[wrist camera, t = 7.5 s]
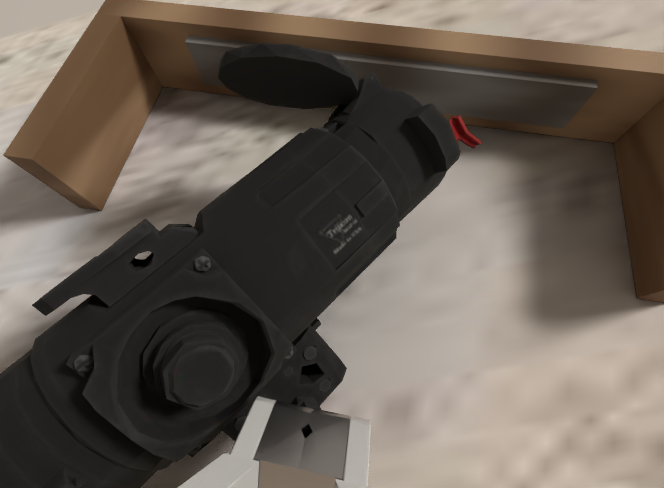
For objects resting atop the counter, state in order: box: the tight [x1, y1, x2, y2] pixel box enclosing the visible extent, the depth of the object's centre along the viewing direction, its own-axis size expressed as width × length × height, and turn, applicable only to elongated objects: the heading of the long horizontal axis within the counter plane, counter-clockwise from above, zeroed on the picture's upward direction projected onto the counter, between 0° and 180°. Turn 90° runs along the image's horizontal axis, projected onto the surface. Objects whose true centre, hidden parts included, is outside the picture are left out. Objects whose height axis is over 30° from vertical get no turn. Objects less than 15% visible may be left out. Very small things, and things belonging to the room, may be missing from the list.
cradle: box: [4, 0, 664, 303], centre depth 15 cm, size 26×9×4 cm, turn 79°
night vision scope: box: [0, 43, 482, 488], centre depth 11 cm, size 8×18×10 cm
